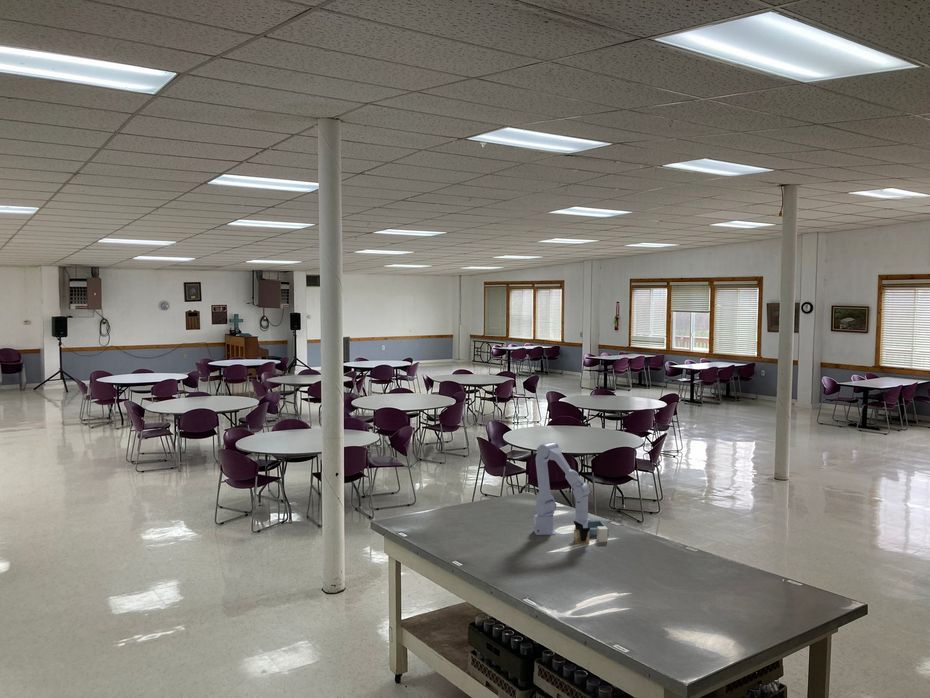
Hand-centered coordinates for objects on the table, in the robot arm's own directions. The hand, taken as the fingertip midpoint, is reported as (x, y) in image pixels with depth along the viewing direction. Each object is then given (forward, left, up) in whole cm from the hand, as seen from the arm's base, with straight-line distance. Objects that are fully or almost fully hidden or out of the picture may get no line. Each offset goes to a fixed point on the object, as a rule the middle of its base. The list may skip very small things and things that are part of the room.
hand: (581, 538), depth 316 cm
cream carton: (+10, +1, -2) cm, 10 cm away
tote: (+8, +13, -1) cm, 15 cm away
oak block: (0, 0, -2) cm, 2 cm away
